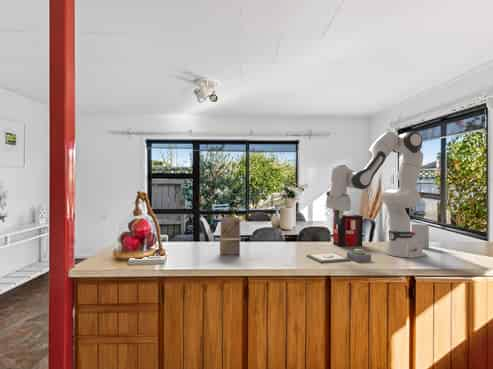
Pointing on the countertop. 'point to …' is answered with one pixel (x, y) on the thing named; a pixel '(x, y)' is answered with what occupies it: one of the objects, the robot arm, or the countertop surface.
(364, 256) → the button housing
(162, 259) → the holder
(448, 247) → the countertop surface
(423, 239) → the skincare box
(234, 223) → the brown tall block
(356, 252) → the button
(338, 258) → the drawing board
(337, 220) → the marker
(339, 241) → the cleaning product box
